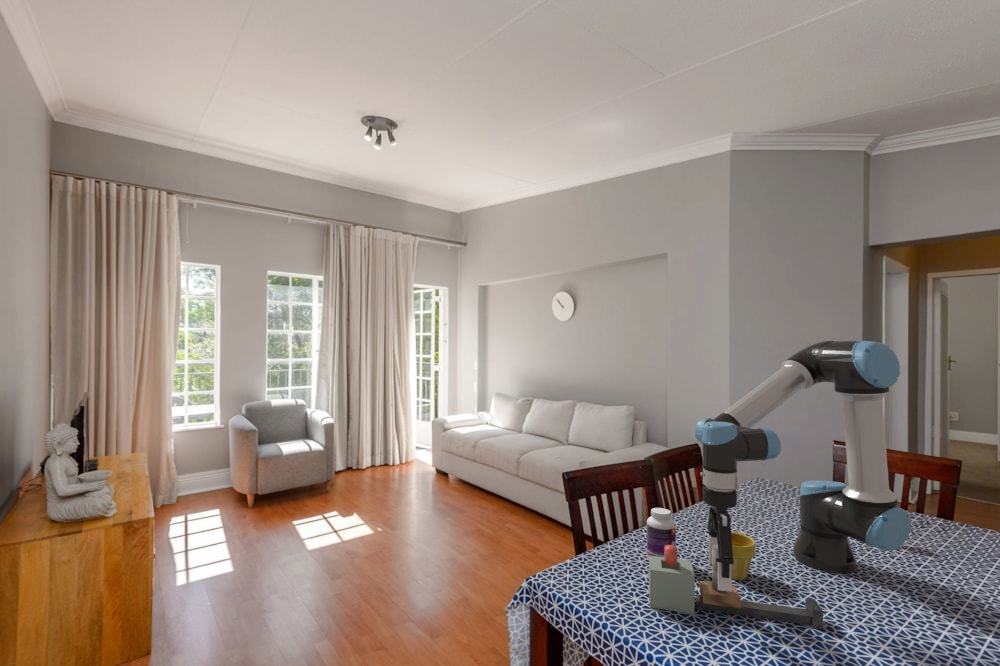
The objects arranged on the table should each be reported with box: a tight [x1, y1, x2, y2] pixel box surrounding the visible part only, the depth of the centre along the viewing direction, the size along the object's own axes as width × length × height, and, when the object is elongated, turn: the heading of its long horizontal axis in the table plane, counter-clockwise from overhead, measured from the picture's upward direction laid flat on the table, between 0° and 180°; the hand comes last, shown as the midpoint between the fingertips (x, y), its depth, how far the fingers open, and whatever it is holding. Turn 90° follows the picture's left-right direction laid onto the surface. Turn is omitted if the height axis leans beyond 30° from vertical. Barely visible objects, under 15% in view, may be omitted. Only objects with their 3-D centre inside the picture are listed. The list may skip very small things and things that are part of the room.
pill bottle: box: [646, 507, 677, 560], centre depth 141 cm, size 8×8×14 cm
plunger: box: [664, 545, 678, 567], centre depth 119 cm, size 3×3×4 cm
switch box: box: [648, 556, 696, 615], centre depth 119 cm, size 10×8×9 cm
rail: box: [695, 593, 824, 630], centre depth 114 cm, size 26×5×4 cm, turn 75°
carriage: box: [699, 544, 741, 608], centre depth 116 cm, size 8×6×12 cm
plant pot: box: [731, 531, 756, 581], centre depth 133 cm, size 10×10×10 cm
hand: (719, 576), depth 116 cm, fingers open, 13 cm apart
